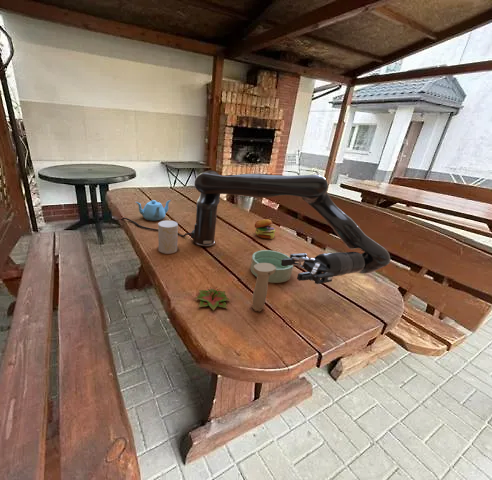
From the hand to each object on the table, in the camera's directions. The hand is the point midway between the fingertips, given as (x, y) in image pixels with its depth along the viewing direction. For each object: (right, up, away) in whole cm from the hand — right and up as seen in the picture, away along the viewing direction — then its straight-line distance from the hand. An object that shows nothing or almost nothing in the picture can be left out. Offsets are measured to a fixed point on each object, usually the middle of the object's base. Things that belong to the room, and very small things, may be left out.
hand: (289, 269), depth 79 cm
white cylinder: (-42, +5, +36) cm, 56 cm away
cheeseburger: (+5, +11, +58) cm, 59 cm away
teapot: (-55, +21, +70) cm, 92 cm away
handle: (-9, -13, +3) cm, 16 cm away
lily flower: (-23, -11, +5) cm, 26 cm away
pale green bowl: (0, -4, +24) cm, 24 cm away
